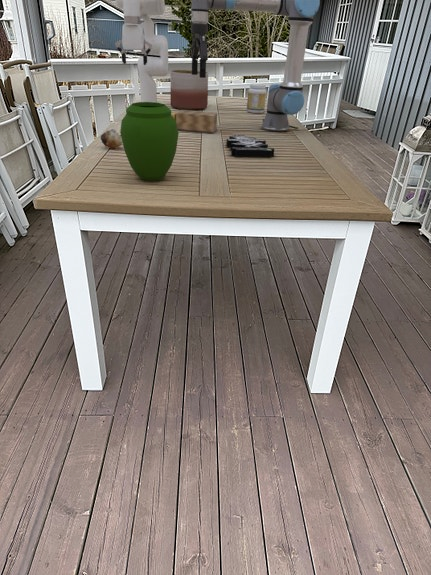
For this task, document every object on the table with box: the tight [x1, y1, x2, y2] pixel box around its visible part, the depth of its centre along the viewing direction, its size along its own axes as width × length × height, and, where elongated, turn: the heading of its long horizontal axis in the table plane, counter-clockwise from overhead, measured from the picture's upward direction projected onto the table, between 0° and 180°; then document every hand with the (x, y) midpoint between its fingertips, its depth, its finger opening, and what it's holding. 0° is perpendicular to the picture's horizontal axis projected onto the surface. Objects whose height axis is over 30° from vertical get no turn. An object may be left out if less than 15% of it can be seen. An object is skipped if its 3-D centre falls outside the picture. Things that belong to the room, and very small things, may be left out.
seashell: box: [100, 128, 123, 149], centre depth 178 cm, size 10×6×8 cm, turn 91°
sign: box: [225, 134, 275, 158], centre depth 189 cm, size 19×3×30 cm
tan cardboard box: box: [175, 109, 218, 135], centre depth 218 cm, size 20×11×9 cm, turn 80°
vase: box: [119, 101, 179, 182], centre depth 140 cm, size 20×20×24 cm
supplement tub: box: [246, 83, 267, 114], centre depth 274 cm, size 12×12×17 cm
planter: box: [170, 69, 209, 111], centre depth 276 cm, size 25×25×22 cm
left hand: (134, 64), depth 194 cm, fingers open, 9 cm apart
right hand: (198, 76), depth 195 cm, fingers open, 13 cm apart
